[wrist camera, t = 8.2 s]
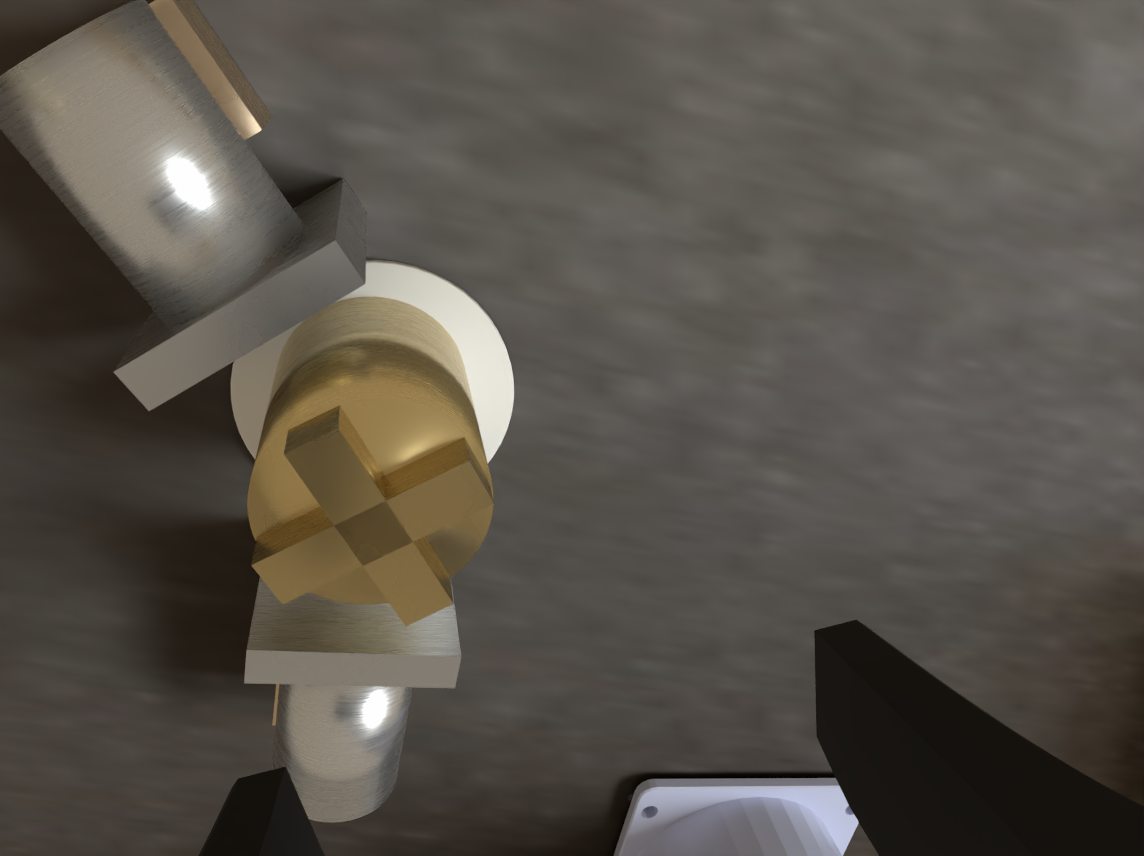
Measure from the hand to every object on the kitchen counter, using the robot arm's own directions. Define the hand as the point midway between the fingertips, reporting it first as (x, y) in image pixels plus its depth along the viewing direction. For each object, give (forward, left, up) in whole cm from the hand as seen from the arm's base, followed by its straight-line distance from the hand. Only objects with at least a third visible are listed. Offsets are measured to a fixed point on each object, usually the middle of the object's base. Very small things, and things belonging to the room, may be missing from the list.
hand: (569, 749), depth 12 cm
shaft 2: (-5, +2, -10) cm, 11 cm away
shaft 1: (+5, +6, -10) cm, 13 cm away
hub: (+1, +3, -10) cm, 10 cm away
